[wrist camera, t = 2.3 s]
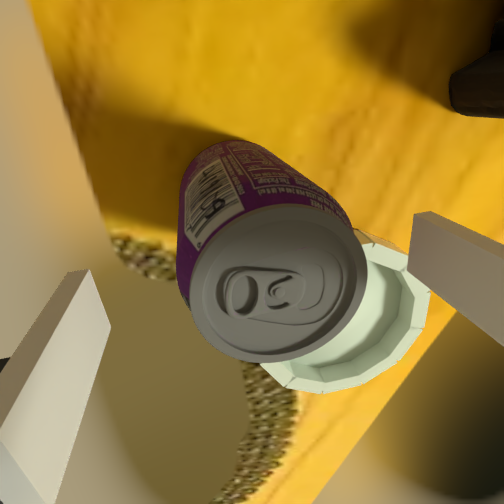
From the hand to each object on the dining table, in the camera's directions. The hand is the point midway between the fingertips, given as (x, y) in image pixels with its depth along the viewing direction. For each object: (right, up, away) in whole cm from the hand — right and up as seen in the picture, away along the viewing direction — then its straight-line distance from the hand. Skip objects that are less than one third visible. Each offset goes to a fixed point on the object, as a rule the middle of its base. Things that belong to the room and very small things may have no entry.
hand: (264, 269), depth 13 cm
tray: (+6, -4, +14) cm, 16 cm away
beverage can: (-2, +5, +8) cm, 10 cm away
